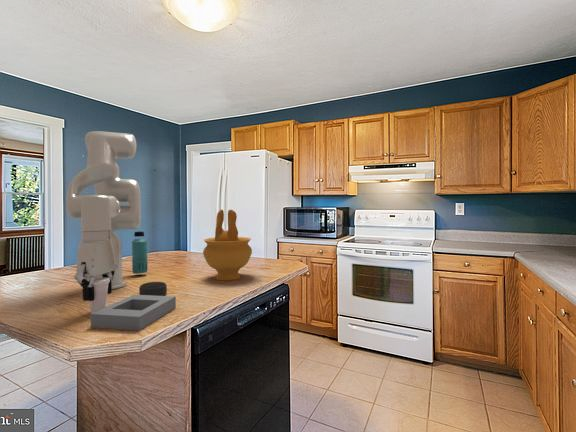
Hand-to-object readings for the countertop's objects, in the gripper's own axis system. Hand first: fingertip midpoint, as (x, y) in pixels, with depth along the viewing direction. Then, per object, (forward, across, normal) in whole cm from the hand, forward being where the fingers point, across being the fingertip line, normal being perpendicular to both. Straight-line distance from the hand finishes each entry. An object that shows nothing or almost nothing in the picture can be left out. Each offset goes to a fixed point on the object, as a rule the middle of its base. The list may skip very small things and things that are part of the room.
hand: (97, 296), depth 94 cm
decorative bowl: (+5, -49, +23) cm, 54 cm away
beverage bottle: (+5, -47, -18) cm, 51 cm away
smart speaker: (+5, -19, +6) cm, 21 cm away
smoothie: (+5, 0, 0) cm, 5 cm away
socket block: (+5, +2, +14) cm, 15 cm away
